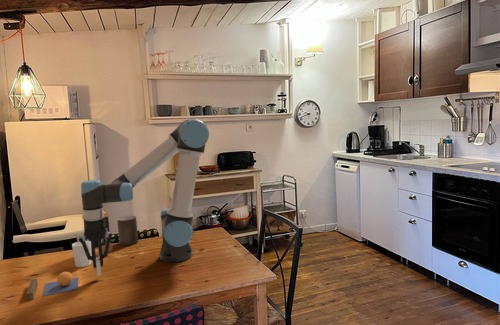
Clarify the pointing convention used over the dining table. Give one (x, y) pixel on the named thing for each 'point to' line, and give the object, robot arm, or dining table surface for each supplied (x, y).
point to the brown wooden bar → (31, 289)
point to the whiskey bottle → (103, 237)
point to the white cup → (81, 254)
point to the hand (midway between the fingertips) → (99, 274)
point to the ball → (64, 279)
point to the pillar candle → (127, 230)
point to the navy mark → (60, 287)
